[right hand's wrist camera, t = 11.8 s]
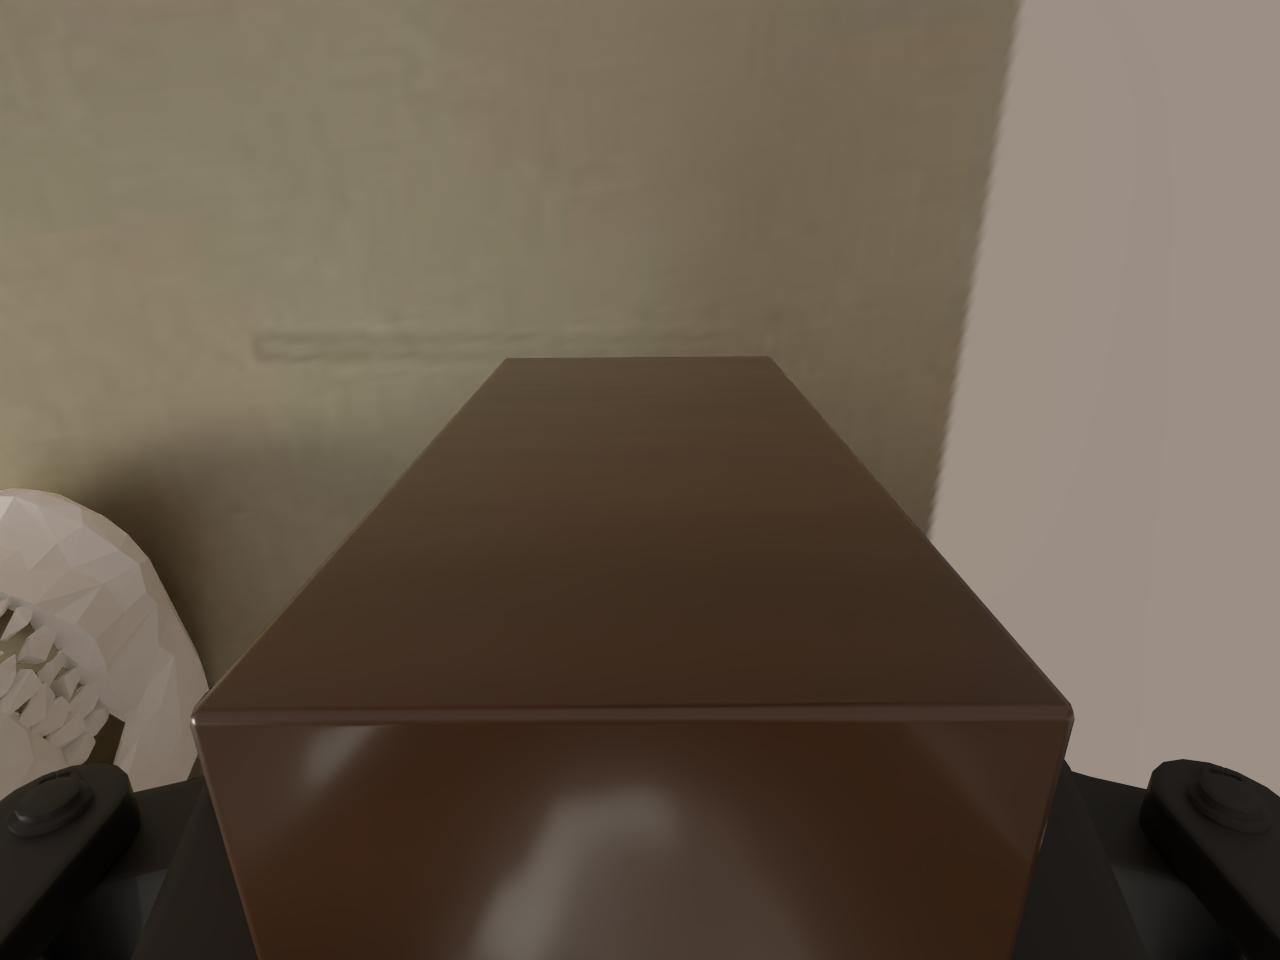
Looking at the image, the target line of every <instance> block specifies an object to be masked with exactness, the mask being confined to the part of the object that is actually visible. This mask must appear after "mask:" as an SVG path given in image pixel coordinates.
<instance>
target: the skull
mask: <svg viewBox="0 0 1280 960" xmlns="http://www.w3.org/2000/svg"><path fill="white" fill-rule="evenodd" d="M7 608H8V609H10V610H12V611H14V614H13V616H12V617H11V619H10V621H9V623H8V625H7V627H6V629H5V631H4V633H3V635H2V637H1V639H0V641H7V640H8V639H9V638H11V637H12V636H13V635H15V634H16V633H17V632H19V631H20V630H21V629H22V628H24V627H25V626H26V625H28V623H30V624H31V626H32V627H33V629H34V631H35V632H34V633H32V634H31V635H30V636H29V637H27V639H26V641H25V643H24V645H23V647H22V649H21V651H20V653H19V655H18V657H17V659H16V653H14V654H13V655H11V656H10V657H9V658H7V659H6V660H4V661H3V662H1V663H0V698H1V697H2V698H1V700H0V801H1V800H2V799H3V798H5V797H6V796H7V795H9V794H10V793H11V792H13V791H14V790H16V789H18V788H20V787H22V786H24V785H25V784H27V783H29V782H31V781H33V780H35V779H37V778H39V777H41V776H43V775H46V774H48V773H51V772H54V771H58V770H60V769H64V768H67V767H70V766H74V765H81V764H82V763H84V762H85V761H86V760H87V759H88V757H89V755H90V753H91V751H92V749H93V747H94V745H95V743H96V741H95V739H94V737H93V736H95V735H97V733H98V732H99V731H100V729H101V728H102V727H103V726H104V724H105V723H106V722H107V720H108V716H109V713H110V714H112V715H113V716H115V717H117V718H118V719H120V720H122V721H123V722H125V726H124V729H123V733H122V736H121V739H120V743H119V746H118V749H117V753H116V756H115V759H114V763H113V765H117V766H118V767H119V768H121V769H122V770H123V771H124V772H125V773H127V774H128V777H129V780H130V783H131V786H132V789H133V792H138V791H142V790H146V789H151V788H155V787H160V786H164V785H169V784H173V783H177V782H182V781H186V780H187V778H188V776H189V774H190V771H191V769H192V767H193V764H194V762H195V760H196V757H197V755H198V752H197V749H196V745H195V742H194V739H193V735H192V732H191V728H190V717H191V714H192V711H193V709H194V707H195V706H196V704H197V703H198V702H199V701H200V699H201V698H202V697H203V696H204V694H205V693H206V692H208V691H209V688H208V684H207V680H206V677H205V673H204V670H203V667H202V664H201V661H200V658H199V656H198V653H197V651H196V649H195V647H194V645H193V643H192V641H191V639H190V637H189V635H188V633H187V631H186V629H185V627H184V625H183V623H182V622H181V620H180V618H179V616H178V614H177V612H176V610H175V608H174V606H173V604H172V602H171V600H170V598H169V596H168V594H167V592H166V590H165V588H164V586H163V584H162V582H161V581H160V579H159V577H158V575H157V573H156V571H155V569H154V567H153V565H152V563H151V561H150V559H149V558H148V557H147V556H146V555H145V553H144V552H143V551H142V550H141V549H140V548H139V547H138V545H137V544H136V543H135V542H134V541H133V540H132V539H131V537H130V536H129V535H128V534H127V533H126V532H124V531H123V530H122V529H120V528H119V527H118V526H116V525H115V524H114V523H112V522H111V521H110V520H108V519H107V518H106V517H104V516H102V515H100V514H98V513H96V512H94V511H92V510H90V509H88V508H86V507H84V506H82V505H80V504H78V503H76V502H74V501H72V500H70V499H68V498H66V497H64V496H62V495H60V494H56V493H50V492H44V491H39V490H32V489H22V488H10V489H4V490H0V617H1V616H2V615H3V614H4V613H5V612H6V610H7ZM52 645H54V646H55V647H56V648H57V650H58V651H59V652H58V653H57V654H56V655H55V656H54V657H53V658H52V659H51V660H50V661H49V662H48V663H47V664H46V665H44V666H43V667H42V668H41V669H40V670H39V671H38V672H37V675H38V677H37V675H36V674H35V673H34V671H33V670H32V669H19V671H18V673H17V674H16V663H20V664H35V665H38V664H40V663H42V662H44V661H46V660H47V657H48V655H49V652H50V650H51V647H52ZM3 653H4V652H2V651H1V650H0V656H1V655H2V654H3ZM62 667H63V668H64V669H65V670H66V671H67V672H65V673H64V674H62V675H60V676H59V677H57V678H56V676H57V674H58V673H59V671H60V670H61V668H62ZM55 678H56V679H55ZM40 680H41V681H42V682H44V683H42V682H41V681H40ZM78 682H80V683H81V684H82V685H83V686H81V687H80V688H78V689H77V690H76V691H75V689H76V686H77V684H78ZM53 692H54V693H55V694H56V695H57V696H58V697H55V694H54V693H53ZM29 699H30V700H29ZM28 700H29V701H28ZM26 701H28V703H27V705H26V707H25V709H24V710H23V712H22V713H21V714H19V713H17V712H15V711H16V710H17V709H18V708H19V707H20V706H22V705H23V704H24V703H25V702H26ZM46 735H47V737H46V739H44V738H42V737H44V736H46Z"/></svg>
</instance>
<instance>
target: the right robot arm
mask: <svg viewBox="0 0 1280 960" xmlns="http://www.w3.org/2000/svg"><path fill="white" fill-rule="evenodd" d="M209 691H210V690H209ZM209 691H208V692H209ZM208 692H206V693H205V694H204V696H203V697H202V698H201V699H200V701H201V700H202V699H203V698H204V697H205V695H206V694H207V693H208ZM200 701H199V702H200ZM199 702H198V703H199ZM198 703H197V704H198ZM197 704H196V706H197ZM196 706H195V707H196ZM195 707H194V708H195ZM0 960H258V957H257V953H256V950H255V947H254V943H253V940H252V936H251V933H250V930H249V926H248V923H247V919H246V916H245V913H244V909H243V906H242V902H241V899H240V895H239V892H238V889H237V885H236V882H235V878H234V875H233V872H232V868H231V865H230V861H229V858H228V855H227V851H226V848H225V844H224V841H223V837H222V834H221V831H220V827H219V824H218V820H217V817H216V814H215V810H214V807H213V803H212V800H211V797H210V793H209V790H208V786H207V783H206V779H205V776H201V777H197V778H194V779H190V780H186V781H182V782H177V783H173V784H169V785H164V786H160V787H155V788H151V789H146V790H142V791H138V792H133V789H132V786H131V783H130V780H129V777H128V774H127V773H125V772H124V771H123V770H122V769H121V768H119V767H118V766H117V765H112V764H105V763H99V762H96V763H89V764H81V765H74V766H70V767H67V768H64V769H60V770H58V771H54V772H51V773H48V774H46V775H43V776H41V777H39V778H37V779H35V780H33V781H31V782H29V783H27V784H25V785H24V786H22V787H20V788H18V789H16V790H14V791H13V792H11V793H10V794H9V795H7V796H6V797H5V798H3V799H2V800H1V801H0ZM1011 960H1280V797H1279V796H1278V795H1276V794H1275V793H1274V792H1272V791H1271V790H1270V789H1268V788H1267V787H1265V786H1263V785H1261V784H1259V783H1258V782H1256V781H1254V780H1252V779H1250V778H1248V777H1246V776H1244V775H1242V774H1240V773H1238V772H1236V771H1233V770H1230V769H1228V768H1223V767H1221V766H1217V765H1214V764H1211V763H1208V762H1200V761H1193V760H1186V759H1181V760H1174V761H1167V762H1163V763H1162V764H1161V765H1159V766H1158V767H1157V768H1156V769H1155V770H1154V771H1153V772H1152V775H1151V778H1150V781H1149V784H1148V787H1147V789H1143V788H1138V787H1134V786H1129V785H1125V784H1120V783H1116V782H1112V781H1107V780H1103V779H1098V778H1094V777H1090V776H1086V775H1083V774H1079V773H1076V772H1073V771H1071V769H1070V767H1069V765H1068V764H1067V762H1066V761H1065V760H1064V761H1063V765H1062V769H1061V773H1060V776H1059V780H1058V784H1057V788H1056V792H1055V795H1054V799H1053V803H1052V807H1051V811H1050V814H1049V818H1048V822H1047V826H1046V830H1045V833H1044V837H1043V841H1042V845H1041V849H1040V852H1039V856H1038V860H1037V864H1036V868H1035V871H1034V875H1033V879H1032V883H1031V887H1030V890H1029V894H1028V898H1027V902H1026V906H1025V909H1024V913H1023V917H1022V921H1021V924H1020V928H1019V932H1018V936H1017V940H1016V943H1015V947H1014V951H1013V955H1012V959H1011Z"/></svg>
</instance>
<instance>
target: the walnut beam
mask: <svg viewBox="0 0 1280 960" xmlns="http://www.w3.org/2000/svg"><path fill="white" fill-rule="evenodd" d="M1073 723H1074V713H1073V709H1072V706H1071V704H1070V703H1069V702H1068V700H1067V699H1066V698H1065V697H1064V696H1063V695H1062V694H1061V692H1060V691H1059V690H1058V689H1057V688H1056V687H1055V686H1054V684H1053V683H1052V682H1051V681H1050V680H1049V679H1048V677H1047V676H1046V675H1045V674H1044V673H1043V672H1042V670H1041V669H1040V668H1039V667H1038V666H1037V665H1036V664H1035V662H1034V661H1033V660H1032V659H1031V658H1030V657H1029V655H1028V654H1027V653H1026V652H1025V651H1024V650H1023V649H1022V647H1021V646H1020V645H1019V644H1018V643H1017V642H1016V640H1015V639H1014V638H1013V637H1012V636H1011V635H1010V634H1009V632H1008V631H1007V630H1006V629H1005V628H1004V627H1003V625H1002V624H1001V623H1000V622H999V621H998V620H997V619H996V617H995V616H994V615H993V614H992V613H991V612H990V610H989V609H988V608H987V607H986V606H985V605H984V604H983V602H982V601H981V600H980V599H979V598H978V597H977V596H976V594H975V593H974V592H973V591H972V590H971V589H970V587H969V586H968V585H967V584H966V583H965V582H964V580H963V579H962V578H961V577H960V576H959V575H958V574H957V572H956V571H955V570H954V569H953V568H952V567H951V565H950V564H949V563H948V562H947V561H946V560H945V559H944V557H943V556H942V555H941V554H940V553H939V552H938V550H937V549H936V548H935V547H934V546H933V545H932V544H931V542H930V541H929V540H928V539H927V538H926V537H925V535H924V534H923V533H922V532H921V531H920V530H919V529H918V527H917V526H916V525H915V524H914V523H913V522H912V520H911V519H910V518H909V517H908V516H907V515H906V513H905V512H904V511H903V510H902V509H901V508H900V507H899V505H898V504H897V503H896V502H895V501H894V500H893V498H892V497H891V496H890V495H889V494H888V493H887V492H886V490H885V489H884V488H883V487H882V486H881V485H880V483H879V482H878V481H877V480H876V479H875V478H874V477H873V475H872V474H871V473H870V472H869V471H868V470H867V468H866V467H865V466H864V465H863V464H862V463H861V462H860V460H859V459H858V458H857V457H856V456H855V455H854V453H853V452H852V451H851V450H850V449H849V448H848V447H847V445H846V444H845V443H844V442H843V441H842V440H841V438H840V437H839V436H838V435H837V434H836V433H835V432H834V430H833V429H832V428H831V427H830V426H829V425H828V423H827V422H826V421H825V420H824V419H823V418H822V417H821V415H820V414H819V413H818V412H817V411H816V410H815V408H814V407H813V406H812V405H811V404H810V403H809V402H808V400H807V399H806V398H805V397H804V396H803V395H802V393H801V392H800V391H799V390H798V389H797V388H796V387H795V385H794V384H793V383H792V382H791V381H790V380H789V378H788V377H787V376H786V375H785V374H784V373H783V372H782V370H781V369H780V368H779V367H778V366H777V365H776V363H775V362H774V361H773V360H772V359H771V358H770V357H768V356H764V357H629V358H508V359H505V360H504V361H503V362H502V363H501V365H500V366H499V367H498V368H497V369H496V370H495V371H494V372H493V373H492V375H491V376H490V377H489V378H488V379H487V380H486V381H485V382H484V384H483V385H482V386H481V387H480V388H479V389H478V390H477V391H476V393H475V394H474V395H473V396H472V397H471V398H470V399H469V400H468V402H467V403H466V404H465V405H464V406H463V407H462V408H461V409H460V411H459V412H458V413H457V414H456V415H455V416H454V417H453V418H452V419H451V421H450V422H449V423H448V424H447V425H446V426H445V427H444V428H443V430H442V431H441V432H440V433H439V434H438V435H437V436H436V437H435V439H434V440H433V441H432V442H431V443H430V444H429V445H428V446H427V448H426V449H425V450H424V451H423V452H422V453H421V454H420V455H419V457H418V458H417V459H416V460H415V461H414V462H413V463H412V464H411V465H410V467H409V468H408V469H407V470H406V471H405V472H404V473H403V474H402V476H401V477H400V478H399V479H398V480H397V481H396V482H395V483H394V485H393V486H392V487H391V488H390V489H389V490H388V491H387V492H386V494H385V495H384V496H383V497H382V498H381V499H380V500H379V501H378V503H377V504H376V505H375V506H374V507H373V508H372V509H371V510H370V511H369V513H368V514H367V515H366V516H365V517H364V518H363V519H362V520H361V522H360V523H359V524H358V525H357V526H356V527H355V528H354V529H353V531H352V532H351V533H350V534H349V535H348V536H347V537H346V538H345V540H344V541H343V542H342V543H341V544H340V545H339V546H338V547H337V549H336V550H335V551H334V552H333V553H332V554H331V555H330V556H329V557H328V559H327V560H326V561H325V562H324V563H323V564H322V565H321V566H320V568H319V569H318V570H317V571H316V572H315V573H314V574H313V575H312V577H311V578H310V579H309V580H308V581H307V582H306V583H305V584H304V586H303V587H302V588H301V589H300V590H299V591H298V592H297V593H296V595H295V596H294V597H293V598H292V599H291V600H290V601H289V602H288V603H287V605H286V606H285V607H284V608H283V609H282V610H281V611H280V612H279V614H278V615H277V616H276V617H275V618H274V619H273V620H272V621H271V623H270V624H269V625H268V626H267V627H266V628H265V629H264V630H263V632H262V633H261V634H260V635H259V636H258V637H257V638H256V639H255V640H254V642H253V643H252V644H251V645H250V646H249V647H248V648H247V649H246V651H245V652H244V653H243V654H242V655H241V656H240V657H239V658H238V660H237V661H236V662H235V663H234V664H233V665H232V666H231V667H230V669H229V670H228V671H227V672H226V673H225V674H224V675H223V676H222V678H221V679H220V680H219V681H218V682H217V683H216V684H215V685H214V686H213V688H212V689H211V690H210V691H209V692H208V693H207V694H206V695H205V697H204V698H203V699H202V700H201V701H200V702H199V703H198V704H197V706H196V707H195V708H194V709H193V711H192V714H191V717H190V728H191V732H192V735H193V739H194V742H195V745H196V749H197V752H198V756H199V759H200V762H201V766H202V769H203V773H204V776H205V779H206V783H207V786H208V790H209V793H210V797H211V800H212V803H213V807H214V810H215V814H216V817H217V820H218V824H219V827H220V831H221V834H222V837H223V841H224V844H225V848H226V851H227V855H228V858H229V861H230V865H231V868H232V872H233V875H234V878H235V882H236V885H237V889H238V892H239V895H240V899H241V902H242V906H243V909H244V913H245V916H246V919H247V923H248V926H249V930H250V933H251V936H252V940H253V943H254V947H255V950H256V953H257V957H258V960H1011V959H1012V955H1013V951H1014V947H1015V943H1016V940H1017V936H1018V932H1019V928H1020V924H1021V921H1022V917H1023V913H1024V909H1025V906H1026V902H1027V898H1028V894H1029V890H1030V887H1031V883H1032V879H1033V875H1034V871H1035V868H1036V864H1037V860H1038V856H1039V852H1040V849H1041V845H1042V841H1043V837H1044V833H1045V830H1046V826H1047V822H1048V818H1049V814H1050V811H1051V807H1052V803H1053V799H1054V795H1055V792H1056V788H1057V784H1058V780H1059V776H1060V773H1061V769H1062V765H1063V761H1064V757H1065V754H1066V750H1067V746H1068V742H1069V738H1070V735H1071V731H1072V727H1073Z"/></svg>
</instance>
